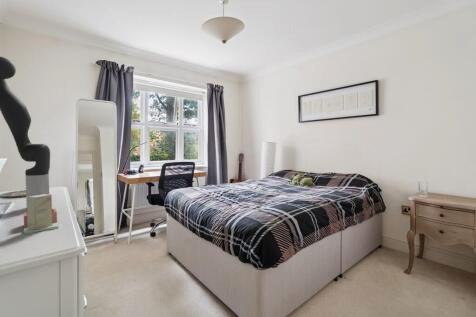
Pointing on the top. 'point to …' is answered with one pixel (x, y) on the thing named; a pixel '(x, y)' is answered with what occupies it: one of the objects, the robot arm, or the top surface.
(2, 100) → the robot arm
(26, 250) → the top surface
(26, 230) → the pad
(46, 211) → the skincare box
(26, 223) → the bin
